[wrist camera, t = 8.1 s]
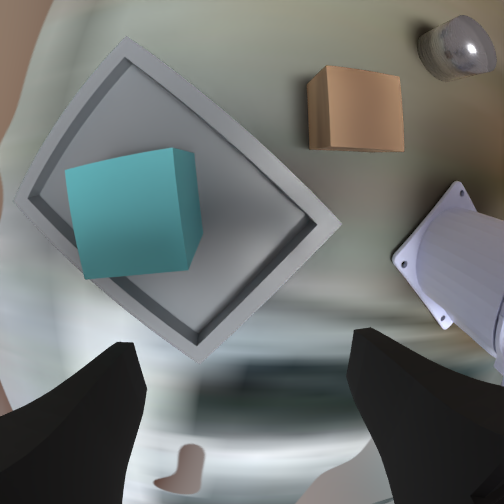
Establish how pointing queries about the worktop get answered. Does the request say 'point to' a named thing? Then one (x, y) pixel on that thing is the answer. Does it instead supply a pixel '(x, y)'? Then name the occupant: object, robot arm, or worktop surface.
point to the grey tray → (209, 189)
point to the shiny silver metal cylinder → (457, 50)
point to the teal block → (136, 213)
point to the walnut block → (355, 111)
